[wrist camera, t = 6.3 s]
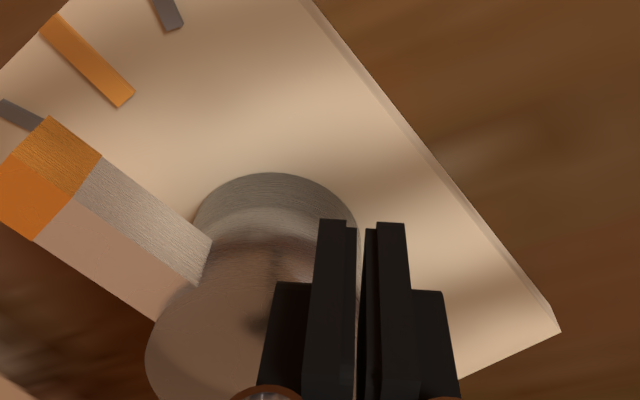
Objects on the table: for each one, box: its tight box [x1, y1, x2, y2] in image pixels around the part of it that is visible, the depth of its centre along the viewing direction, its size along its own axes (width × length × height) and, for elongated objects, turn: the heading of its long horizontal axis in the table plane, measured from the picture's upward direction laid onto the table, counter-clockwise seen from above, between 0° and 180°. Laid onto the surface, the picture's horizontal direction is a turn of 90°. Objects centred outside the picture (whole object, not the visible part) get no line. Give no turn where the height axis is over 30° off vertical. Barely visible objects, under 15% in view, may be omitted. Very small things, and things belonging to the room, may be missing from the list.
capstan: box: [0, 115, 362, 400], centre depth 18 cm, size 16×6×6 cm, turn 45°
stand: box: [0, 0, 561, 379], centre depth 22 cm, size 20×12×2 cm, turn 39°
